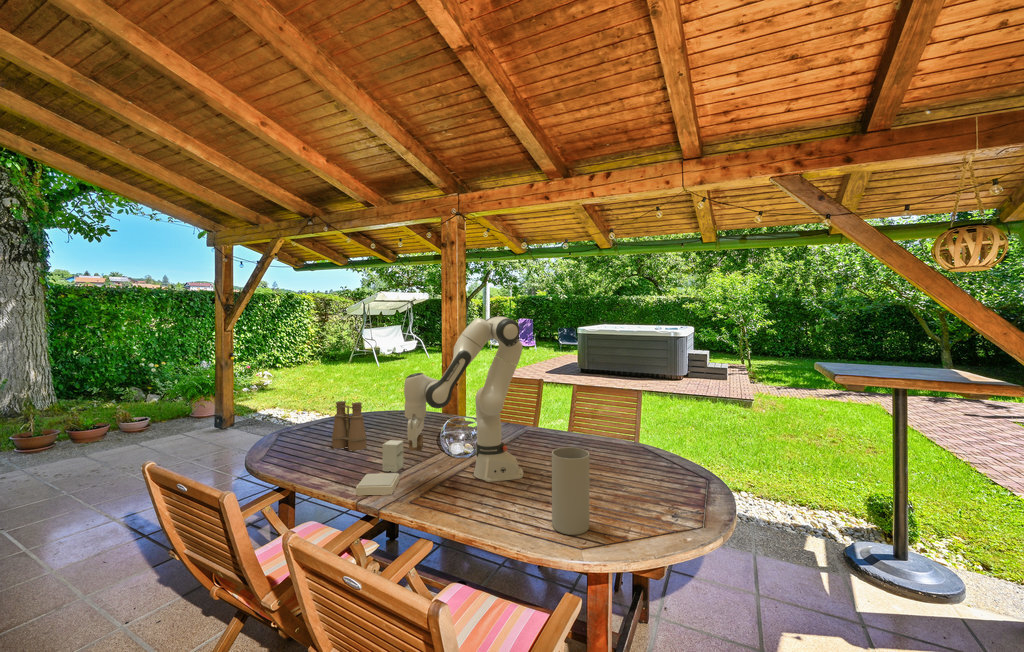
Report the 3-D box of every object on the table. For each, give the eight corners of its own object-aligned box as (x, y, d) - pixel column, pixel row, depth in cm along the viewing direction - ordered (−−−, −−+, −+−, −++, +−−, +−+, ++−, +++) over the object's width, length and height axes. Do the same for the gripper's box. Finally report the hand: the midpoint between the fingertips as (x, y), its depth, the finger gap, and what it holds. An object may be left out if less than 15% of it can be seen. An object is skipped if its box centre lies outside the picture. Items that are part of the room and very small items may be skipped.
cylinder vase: (555, 515, 150) (555, 446, 149) (591, 520, 146) (591, 449, 146) (548, 533, 138) (548, 457, 137) (587, 538, 134) (587, 460, 134)
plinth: (399, 481, 182) (399, 472, 182) (391, 495, 168) (391, 485, 168) (366, 482, 181) (366, 473, 181) (356, 496, 167) (355, 486, 167)
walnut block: (423, 446, 180) (422, 434, 180) (421, 450, 175) (421, 438, 175) (411, 446, 180) (411, 435, 180) (409, 450, 175) (408, 438, 175)
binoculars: (327, 449, 228) (326, 403, 228) (340, 443, 238) (340, 399, 237) (358, 453, 221) (358, 405, 221) (370, 447, 231) (370, 402, 230)
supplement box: (396, 472, 193) (396, 445, 193) (381, 471, 195) (381, 444, 194) (404, 466, 200) (403, 440, 200) (389, 465, 202) (389, 439, 202)
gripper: (419, 417, 167) (420, 452, 167) (426, 406, 187) (427, 437, 187) (403, 418, 166) (403, 452, 167) (412, 407, 187) (412, 438, 187)
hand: (416, 444), depth 177 cm, fingers closed on walnut block, 5 cm apart
